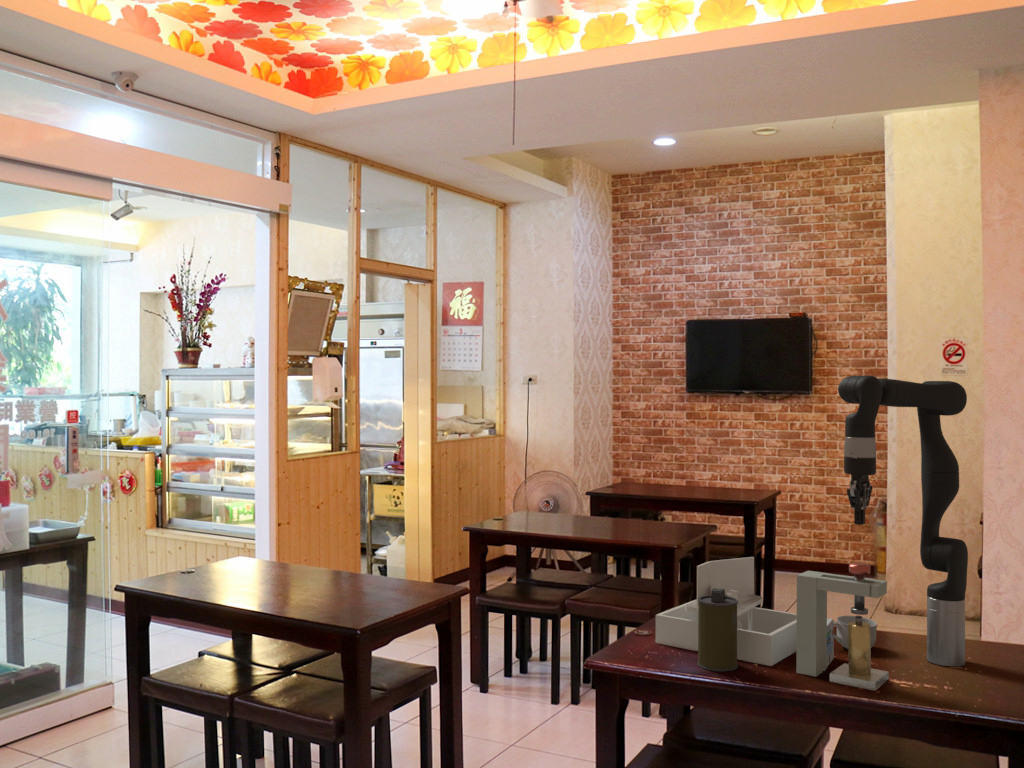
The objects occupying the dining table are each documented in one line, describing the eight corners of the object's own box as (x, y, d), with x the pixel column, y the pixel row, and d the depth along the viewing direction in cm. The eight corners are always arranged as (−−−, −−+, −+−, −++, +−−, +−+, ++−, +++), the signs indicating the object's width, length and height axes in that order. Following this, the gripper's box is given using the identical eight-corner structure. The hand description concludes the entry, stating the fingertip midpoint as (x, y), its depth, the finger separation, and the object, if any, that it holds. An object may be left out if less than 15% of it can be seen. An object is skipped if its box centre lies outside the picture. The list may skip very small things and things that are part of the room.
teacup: (868, 643, 259) (868, 615, 260) (883, 654, 249) (883, 625, 249) (819, 642, 260) (820, 614, 260) (832, 653, 249) (832, 624, 249)
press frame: (807, 665, 238) (808, 570, 238) (886, 681, 225) (887, 580, 225) (796, 672, 231) (796, 575, 231) (877, 689, 219) (877, 586, 219)
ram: (852, 609, 229) (852, 562, 229) (872, 612, 226) (872, 564, 226) (846, 613, 225) (846, 564, 225) (866, 616, 222) (866, 567, 222)
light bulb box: (827, 668, 236) (827, 626, 236) (800, 664, 239) (800, 623, 239) (834, 657, 245) (834, 618, 245) (808, 654, 248) (808, 614, 248)
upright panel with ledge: (747, 662, 241) (747, 575, 242) (674, 649, 253) (674, 565, 254) (780, 639, 264) (781, 559, 265) (712, 628, 276) (712, 551, 277)
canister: (734, 673, 230) (735, 595, 230) (694, 668, 234) (694, 591, 234) (740, 661, 240) (740, 586, 241) (701, 657, 244) (701, 583, 244)
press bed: (844, 671, 233) (844, 663, 233) (888, 679, 226) (888, 671, 226) (829, 681, 224) (829, 673, 225) (875, 690, 218) (875, 682, 218)
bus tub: (699, 624, 280) (699, 598, 280) (808, 643, 258) (809, 615, 258) (655, 642, 258) (655, 614, 258) (771, 666, 237) (771, 635, 237)
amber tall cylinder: (853, 667, 229) (852, 612, 229) (874, 671, 225) (873, 615, 225) (845, 672, 225) (844, 616, 225) (866, 677, 222) (864, 620, 222)
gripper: (853, 453, 233) (853, 520, 233) (835, 455, 223) (835, 526, 223) (883, 454, 229) (883, 523, 229) (867, 457, 218) (866, 529, 218)
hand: (859, 524), depth 226 cm, fingers closed
